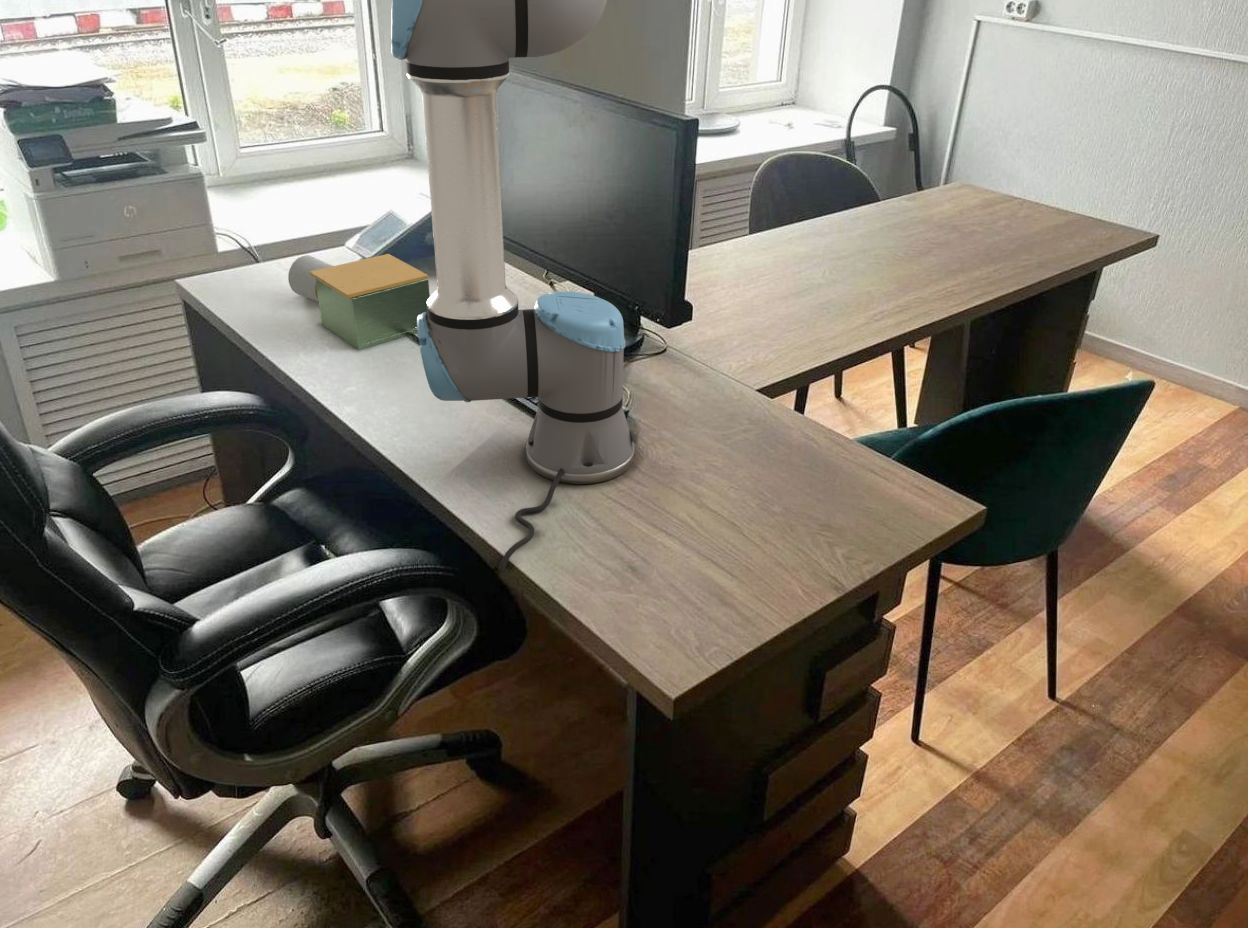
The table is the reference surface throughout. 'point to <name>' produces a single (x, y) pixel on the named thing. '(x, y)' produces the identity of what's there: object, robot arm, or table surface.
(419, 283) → the tea tin
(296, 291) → the ceramic mug
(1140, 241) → the table surface
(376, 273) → the lid
